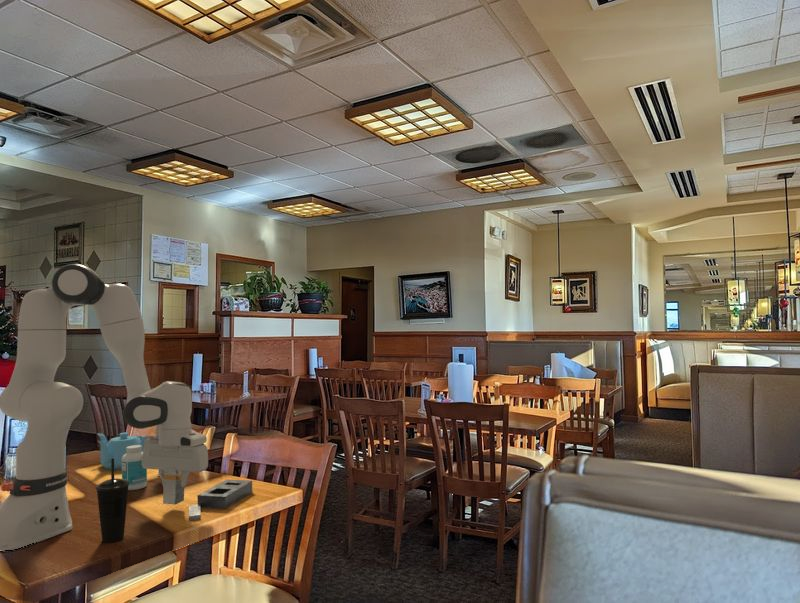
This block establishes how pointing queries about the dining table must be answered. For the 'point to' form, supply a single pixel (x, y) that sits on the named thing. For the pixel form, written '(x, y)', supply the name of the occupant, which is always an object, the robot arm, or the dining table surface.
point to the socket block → (224, 494)
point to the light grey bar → (194, 512)
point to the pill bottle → (134, 468)
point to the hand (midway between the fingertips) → (173, 485)
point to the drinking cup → (112, 507)
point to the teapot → (117, 448)
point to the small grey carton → (172, 487)
